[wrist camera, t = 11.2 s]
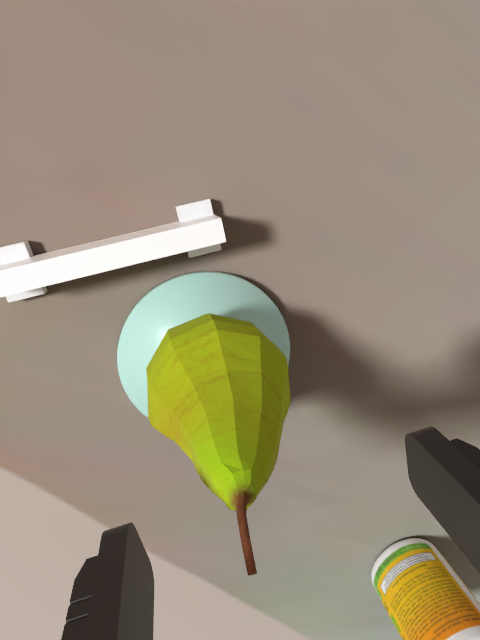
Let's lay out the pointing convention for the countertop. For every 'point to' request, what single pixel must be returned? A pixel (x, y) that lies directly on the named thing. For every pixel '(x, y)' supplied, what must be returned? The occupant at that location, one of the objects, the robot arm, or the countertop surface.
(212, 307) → the pad
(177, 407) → the fruit
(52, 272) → the rail
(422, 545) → the supplement bottle
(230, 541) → the countertop surface
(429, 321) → the countertop surface
